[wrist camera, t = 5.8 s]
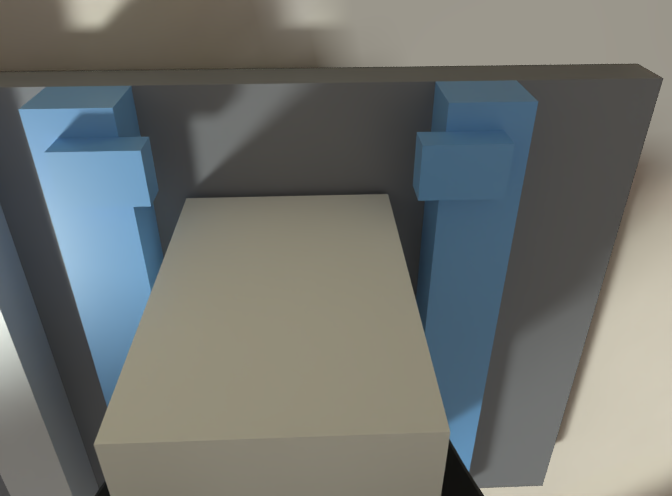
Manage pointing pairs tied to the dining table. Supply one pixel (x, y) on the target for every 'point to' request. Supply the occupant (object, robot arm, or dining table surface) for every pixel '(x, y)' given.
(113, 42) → the dining table surface
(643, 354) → the dining table surface
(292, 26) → the dining table surface
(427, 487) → the tall cream block
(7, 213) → the board
